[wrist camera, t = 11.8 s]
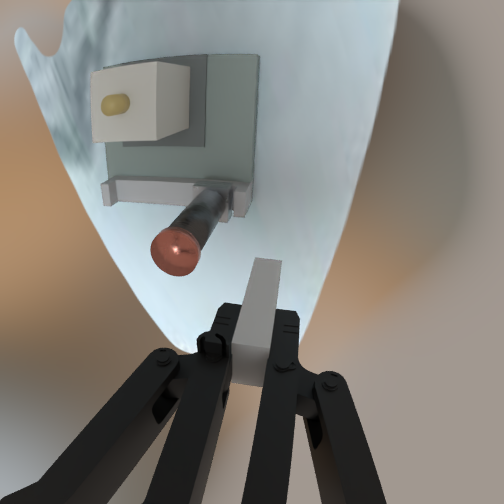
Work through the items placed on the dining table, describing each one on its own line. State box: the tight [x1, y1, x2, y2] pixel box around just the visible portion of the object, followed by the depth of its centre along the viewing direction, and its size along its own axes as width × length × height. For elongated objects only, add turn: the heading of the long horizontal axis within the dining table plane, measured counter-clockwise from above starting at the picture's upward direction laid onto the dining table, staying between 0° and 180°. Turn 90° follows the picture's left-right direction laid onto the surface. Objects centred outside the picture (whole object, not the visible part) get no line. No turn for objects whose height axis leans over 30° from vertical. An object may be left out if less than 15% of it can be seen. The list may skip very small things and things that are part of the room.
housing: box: [91, 61, 190, 143], centre depth 21 cm, size 6×6×9 cm
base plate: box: [101, 54, 260, 218], centre depth 26 cm, size 15×16×4 cm
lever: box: [151, 180, 233, 276], centre depth 23 cm, size 3×3×11 cm
